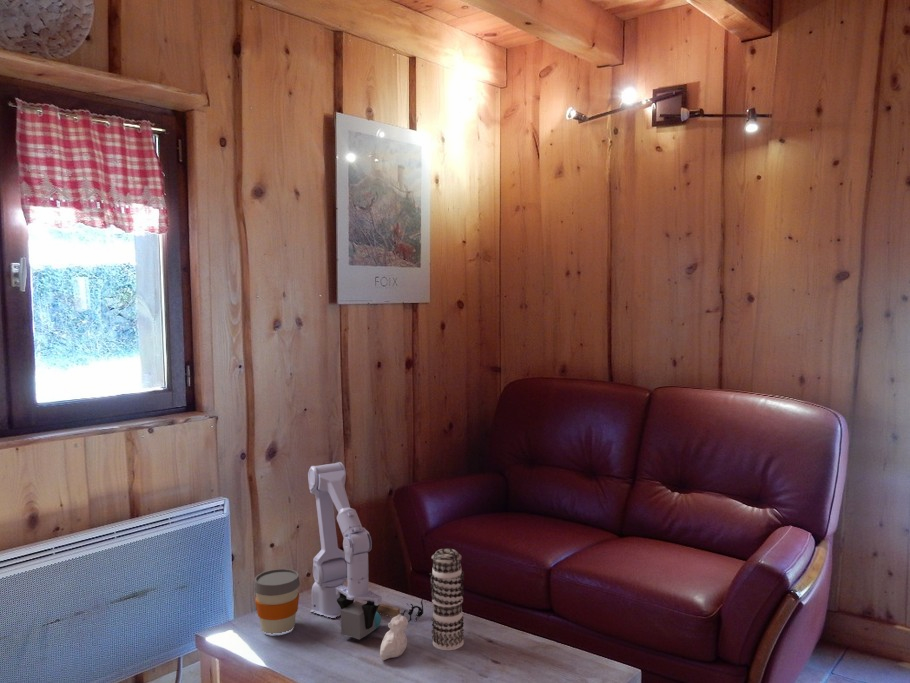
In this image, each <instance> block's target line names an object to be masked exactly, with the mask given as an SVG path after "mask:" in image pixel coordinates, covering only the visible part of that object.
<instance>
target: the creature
mask: <svg viewBox="0 0 910 683" xmlns="http://www.w3.org/2000/svg"><path fill="white" fill-rule="evenodd" d="M423 600H424V599H423V598H422V599H421V601H420V605H421V607H420V606H418V605H414V604H413V603H410V605H409V604H408V603H406V605H407V606H410V608H411V609H410V608H408V609H409V610H406V609H404V611H403V612H400V615H401V616H405V613H407V615H409V616H410V617H409V620H407V621H408V623H410V622H411V621H412V615H413V612H414V610H415V609H416V608H417V610H418V611H417V613H416V614H415V615H413V616H414V617H415V620H416V621H417V619H418V618H420V617H422V615H423V614H424V605H423ZM416 616H417V617H416Z"/></svg>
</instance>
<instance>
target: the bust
mask: <svg viewBox="0 0 910 683" xmlns="http://www.w3.org/2000/svg"><path fill="white" fill-rule="evenodd" d="M408 621H409V620H408V619H407V617H406V616H405V615H403V616H402V615H400V614H398V615H397V616H396V617H391V620H390V622H389V623H387V626H388V628H389V630H388V631H387V632H386V633H385V634H384V636H383V639H382V641H381V643H380V649H379V656H380V660H381V661H385V660H389V659H391V658H398V657H401V656H402V655H403V653H404V651H405V650H406V648H407V646H408V645H407V644H408V640H407V634H406V632H405V630H407V629H408V626H409V622H408Z"/></svg>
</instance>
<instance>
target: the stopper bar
mask: <svg viewBox="0 0 910 683" xmlns="http://www.w3.org/2000/svg"><path fill="white" fill-rule="evenodd" d="M400 610H401V609H400V608H398V607H395V606H390V605H388V604H383V603H381V604H380V605H379V607H378V609H377V612H378V613H381V614H380V615H382V614H384V615H383V616H386V615H388V616H387V617H390V616H391V617H390V618H393V617H396V616H397V615H398V614H400V613H401V612H400Z"/></svg>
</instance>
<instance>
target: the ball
mask: <svg viewBox="0 0 910 683" xmlns="http://www.w3.org/2000/svg"><path fill="white" fill-rule="evenodd" d="M381 623H382V617H381V614H379V613H378V612H377V611H376V614H375V630H376V629H378V628H379V626H380V625H381Z"/></svg>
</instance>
